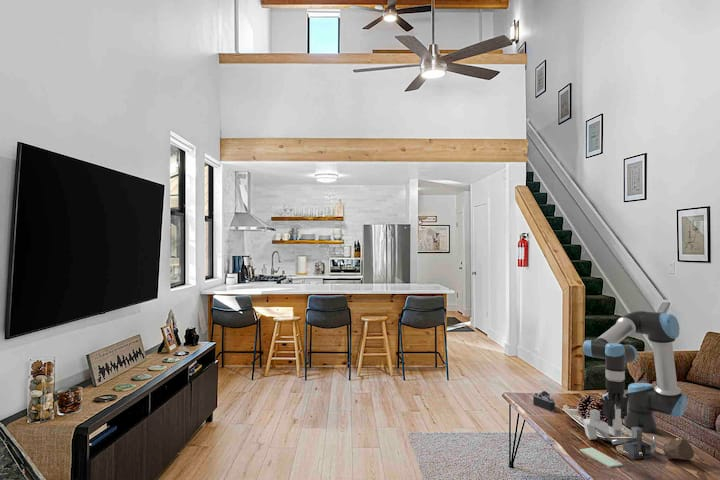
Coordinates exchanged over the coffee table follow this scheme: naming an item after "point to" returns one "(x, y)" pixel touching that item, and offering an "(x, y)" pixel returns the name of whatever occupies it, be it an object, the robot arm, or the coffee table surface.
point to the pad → (601, 457)
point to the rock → (678, 449)
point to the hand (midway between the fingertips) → (615, 433)
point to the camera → (544, 401)
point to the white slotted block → (604, 426)
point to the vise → (636, 445)
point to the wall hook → (592, 430)
